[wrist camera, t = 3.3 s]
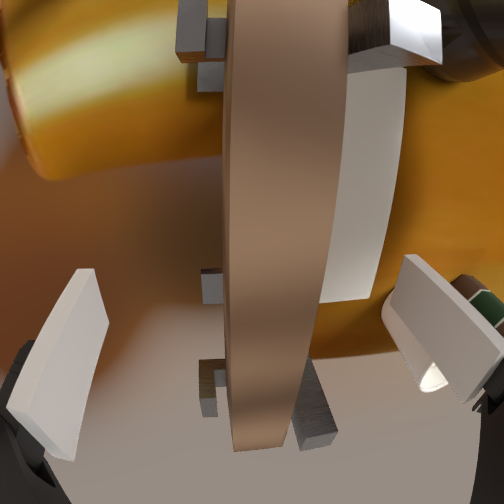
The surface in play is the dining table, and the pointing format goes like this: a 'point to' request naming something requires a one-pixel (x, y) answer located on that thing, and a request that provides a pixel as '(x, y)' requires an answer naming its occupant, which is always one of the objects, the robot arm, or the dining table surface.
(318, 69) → the walnut bar
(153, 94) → the dining table surface
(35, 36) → the dining table surface
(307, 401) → the hook rack
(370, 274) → the grey mat
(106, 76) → the dining table surface
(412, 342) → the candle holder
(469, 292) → the beer bottle
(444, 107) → the dining table surface
